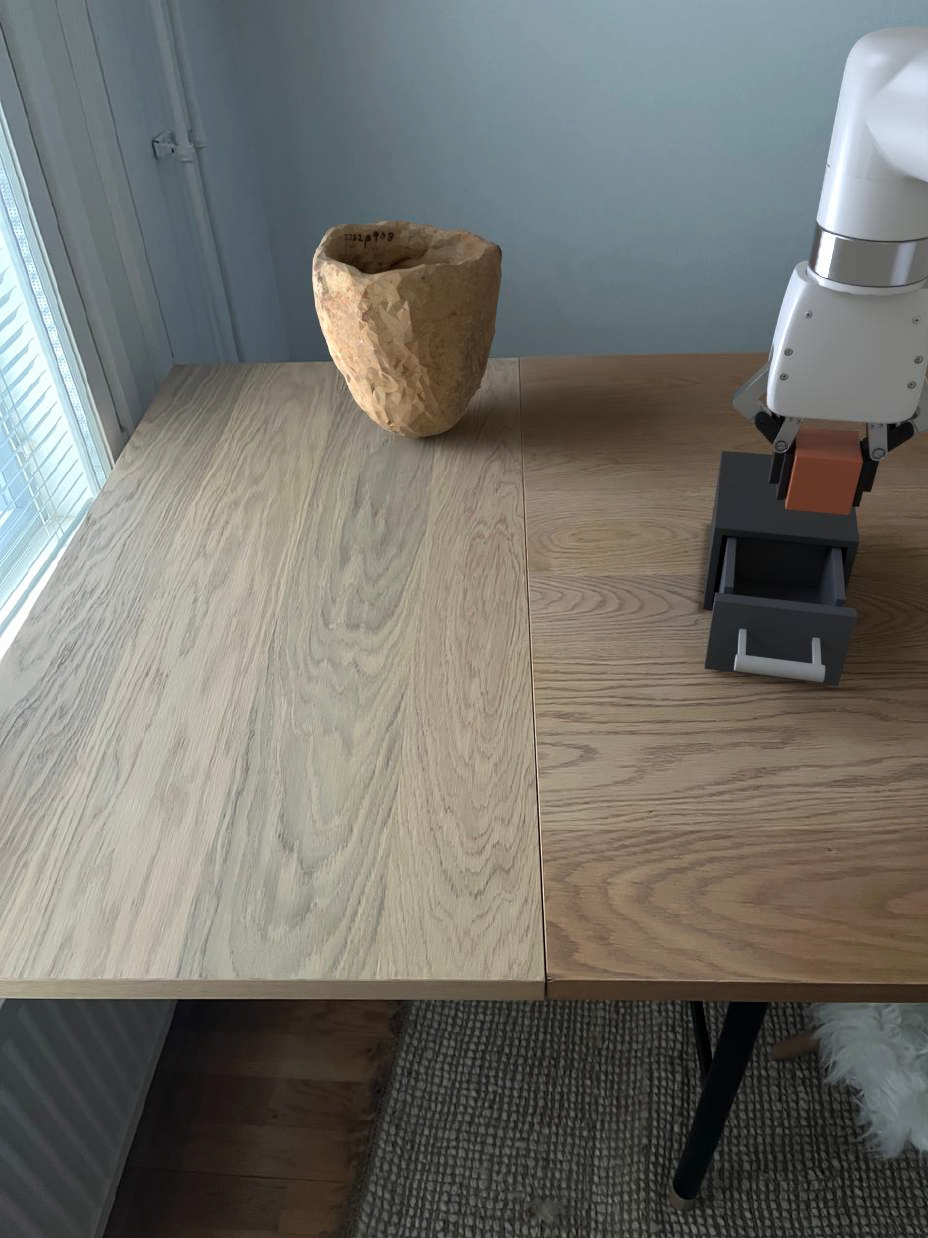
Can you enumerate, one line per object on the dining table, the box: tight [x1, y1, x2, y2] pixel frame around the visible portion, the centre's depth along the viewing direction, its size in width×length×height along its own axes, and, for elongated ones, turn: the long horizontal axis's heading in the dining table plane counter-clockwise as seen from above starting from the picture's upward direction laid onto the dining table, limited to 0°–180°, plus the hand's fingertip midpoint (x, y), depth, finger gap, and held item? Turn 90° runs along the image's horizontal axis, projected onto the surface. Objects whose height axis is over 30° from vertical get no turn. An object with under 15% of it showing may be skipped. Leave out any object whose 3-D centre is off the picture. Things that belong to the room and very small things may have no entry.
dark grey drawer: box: [703, 536, 858, 687], centre depth 85 cm, size 18×11×8 cm, turn 166°
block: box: [785, 426, 863, 515], centre depth 71 cm, size 5×5×5 cm
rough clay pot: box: [311, 219, 503, 439], centre depth 116 cm, size 22×22×25 cm
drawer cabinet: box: [702, 450, 860, 611], centre depth 94 cm, size 15×13×10 cm
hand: (816, 491), depth 73 cm, fingers closed on block, 4 cm apart
